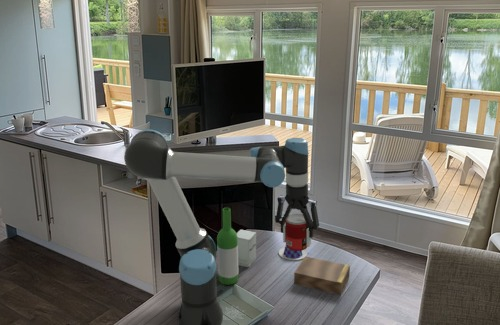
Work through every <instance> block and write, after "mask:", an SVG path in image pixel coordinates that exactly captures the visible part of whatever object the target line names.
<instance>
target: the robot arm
mask: <svg viewBox="0 0 500 325" xmlns="http://www.w3.org/2000/svg"><path fill="white" fill-rule="evenodd" d="M308 146H309V145H308V140H307V139H305V138H303V137H292V138H291V137H290V138H287V139H286V140H285V143H284V145H275V146H273V145H271V146H256V147H251V148H250V149H249V156H244V155H243V156H242V155H240V156H239V155H228V154H214V153H213V154H211V153H198V152H197V153H196V152H183V151H180V152H179V151H173V150H172V149H171V147H169V146H168V142H167V139H166V137H165V136H164V134H162V133H161V132H160V131H158V130H155V129H151V128H149V129H144V130H141V131H139V132H137V133H136V134H135V135H133V137H132V138H131V140H130V143H129V144H128V146H126V147H127V148H126V149H125V151H124V164H125V167H126V168H127V170H129V172H130V173H132V174H133V175H135V176H137V177H139V178H141V179H142V180H146V181H148V183H149V185H150V187H151V190H152V191H153V193H154V195H155V197H156V199H157V202H158V203H159V205H160V207H161V209H162V212H163V214H164V216H165V217H166V219H167V221H168V223H169V225H170V228H171V229H172V232H173V234H174V236H175V237H176V242H175V247H176V249H177V251H178V253H179V256H180V260H179V266H178V272H179V278H180V294H181V302H180V306H179V309H178V312H177V324H178V325H221V324H222V323H223V320H224V317H223V316H224V313H223V308H222V307H221V305H220V302H219V300H218V292H217V291H218V289H217V245H216V242H215V241H214V239H213V238H212V237H211V236H210V235H209V234H208V232H207V231H206V229H205V228H202V227H200V225H199V224H198V222H197V220H196V217H195V215H194V213H193V211H192V208H191V207H190V205H189V203H188V201H187V198H186V196H185V195H184V192H183V190H182V188H181V186H180V184H179V181H178V179H177V178H185V179H202V180H203V179H204V180H219V181H222V180H223V181H233V182H234V181H237V182H250V183H251V182H253V183H263V185H265V186H266V187H268V188H277V187H279V186H280V185H282V184H283V182H284V181H285V195H282V194H280V195H279V196H278V197H277V199H276V200H277V210H276V215H275V223H277V224H280V233H282V234H283V235H282V240H283V243H285V244H286V218H287V217H288V216H289V215H290V214H291V212H292V209H293V210H298V211H300V214H303V216H304V219H305V221H306V223H307V226H308V229H307V248H309V247H310V246H311V244H312V239H313V237H314V235H315V234H314V233H315V230H317V229H318V228H319V226H320V223H319V222H320V221H319V217H318V208H317V204H318V200H316V199H314V200H313V199H310V198H309V185H308V182H309V147H308ZM285 201H286V203H287V204H288V205H287V207H286V210H285V212H284V215H283V210H284V204H285ZM308 204H309V207H310V213H311V214H310V213H309V209H308ZM282 216H283V217H282Z"/></svg>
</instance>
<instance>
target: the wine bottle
mask: <svg viewBox="0 0 500 325" xmlns="http://www.w3.org/2000/svg"><path fill="white" fill-rule="evenodd" d="M231 213H232V212H231V208H230V207H227V206H226V207H224V208H222V228H221V229H220V230H219V231H218V232H217V233H218V234H217V236H216V244H217V245H216V254H217V273H218V274H217V275H218V281H219V283H220V284H223V285H225V286H227V285H228V286H231V285H234V284H236V283H237V282H238V280H239V278H240V277H239V265H238V237H237V232H236V231H235V229H233V227H232V214H231ZM233 283H234V284H233ZM230 284H231V285H230Z"/></svg>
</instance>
